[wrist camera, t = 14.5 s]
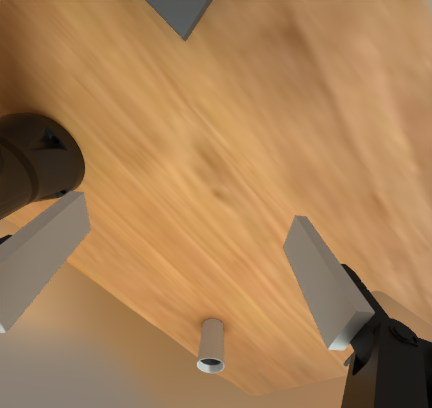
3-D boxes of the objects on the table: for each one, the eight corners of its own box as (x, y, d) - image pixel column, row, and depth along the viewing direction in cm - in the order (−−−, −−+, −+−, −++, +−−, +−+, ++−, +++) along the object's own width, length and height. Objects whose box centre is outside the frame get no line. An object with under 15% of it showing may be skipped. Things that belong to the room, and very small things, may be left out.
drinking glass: (219, 315, 57) (217, 355, 48) (228, 329, 60) (228, 370, 51) (197, 320, 59) (191, 360, 50) (207, 334, 61) (203, 374, 52)
